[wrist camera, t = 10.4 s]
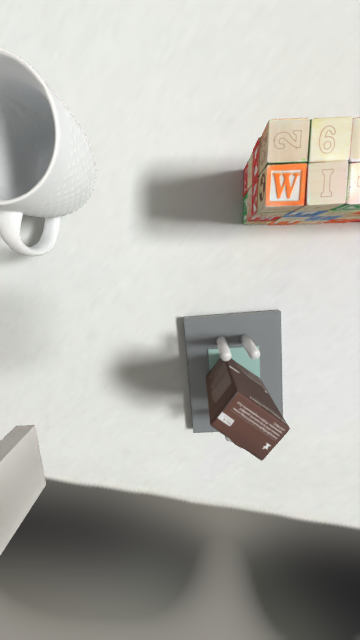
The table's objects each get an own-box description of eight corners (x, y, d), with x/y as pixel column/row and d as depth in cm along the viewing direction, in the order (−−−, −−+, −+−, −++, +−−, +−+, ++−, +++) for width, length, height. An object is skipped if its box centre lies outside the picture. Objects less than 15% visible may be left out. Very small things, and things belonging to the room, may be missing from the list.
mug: (101, 264, 36) (49, 266, 23) (17, 249, 36) (-81, 242, 23) (116, 135, 33) (65, 55, 20) (24, 119, 33) (-84, 30, 20)
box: (262, 375, 36) (293, 430, 25) (240, 401, 37) (260, 466, 26) (224, 349, 36) (238, 391, 24) (203, 375, 37) (206, 429, 25)
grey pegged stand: (193, 428, 40) (192, 463, 33) (183, 317, 37) (181, 329, 30) (280, 424, 39) (298, 459, 32) (278, 309, 36) (297, 321, 29)
